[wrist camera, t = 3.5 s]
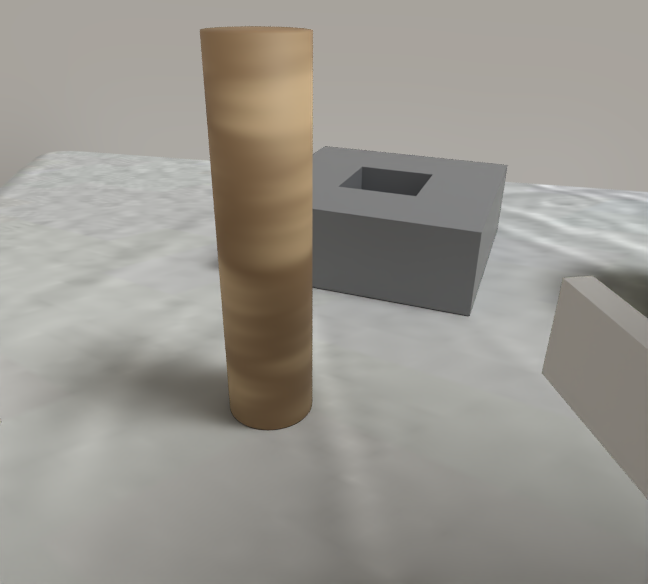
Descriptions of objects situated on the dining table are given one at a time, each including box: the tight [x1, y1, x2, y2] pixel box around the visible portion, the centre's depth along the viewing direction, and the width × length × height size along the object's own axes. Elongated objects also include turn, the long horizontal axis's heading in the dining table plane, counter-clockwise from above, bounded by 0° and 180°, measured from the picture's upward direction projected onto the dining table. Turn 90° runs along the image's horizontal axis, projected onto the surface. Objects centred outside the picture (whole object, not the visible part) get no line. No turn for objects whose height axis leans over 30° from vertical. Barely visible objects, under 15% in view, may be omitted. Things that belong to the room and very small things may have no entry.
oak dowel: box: [200, 26, 313, 430], centre depth 22 cm, size 4×4×15 cm
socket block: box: [312, 146, 507, 316], centre depth 40 cm, size 14×14×5 cm
